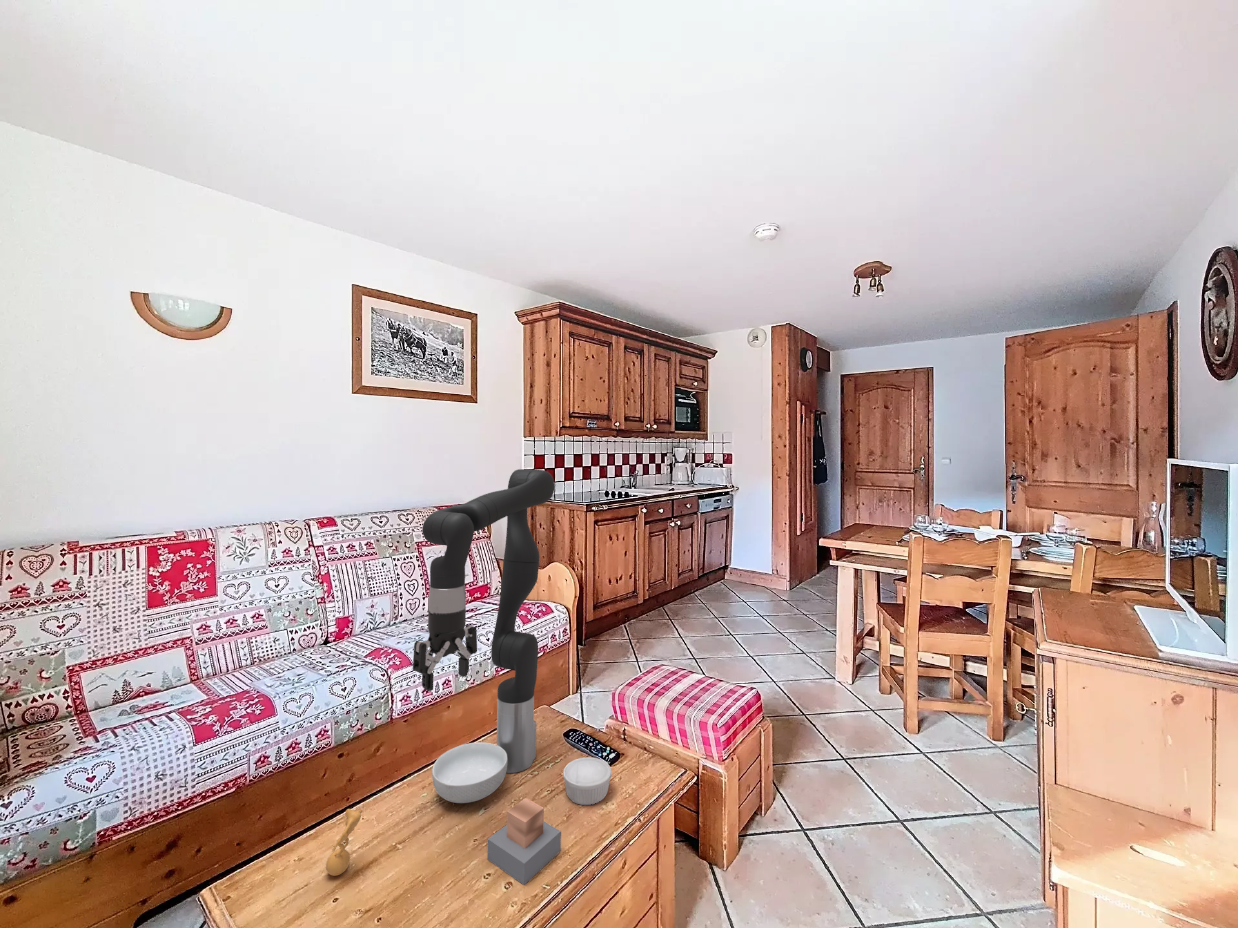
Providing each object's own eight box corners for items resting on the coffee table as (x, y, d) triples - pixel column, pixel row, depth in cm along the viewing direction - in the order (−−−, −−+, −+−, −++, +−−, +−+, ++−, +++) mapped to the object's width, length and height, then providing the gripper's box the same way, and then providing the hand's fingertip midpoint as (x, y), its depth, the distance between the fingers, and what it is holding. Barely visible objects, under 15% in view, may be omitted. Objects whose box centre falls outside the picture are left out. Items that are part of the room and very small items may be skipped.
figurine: (339, 854, 99) (340, 793, 99) (370, 855, 99) (371, 794, 99) (314, 891, 91) (314, 824, 91) (347, 891, 91) (348, 825, 91)
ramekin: (554, 788, 120) (554, 766, 120) (593, 772, 127) (593, 751, 127) (579, 816, 111) (579, 792, 111) (620, 796, 118) (620, 774, 118)
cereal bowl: (475, 761, 130) (475, 733, 130) (522, 785, 121) (522, 756, 121) (416, 797, 116) (416, 766, 116) (463, 828, 107) (464, 794, 107)
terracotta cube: (525, 821, 103) (525, 797, 103) (543, 832, 101) (543, 807, 101) (506, 836, 99) (507, 811, 99) (524, 848, 97) (525, 822, 96)
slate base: (524, 829, 107) (525, 810, 107) (560, 850, 101) (560, 831, 101) (487, 859, 99) (487, 838, 99) (523, 884, 93) (524, 863, 93)
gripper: (463, 596, 116) (462, 667, 116) (406, 610, 104) (405, 689, 104) (485, 602, 111) (484, 675, 112) (428, 618, 100) (427, 700, 100)
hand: (446, 682), depth 108 cm, fingers open, 8 cm apart
